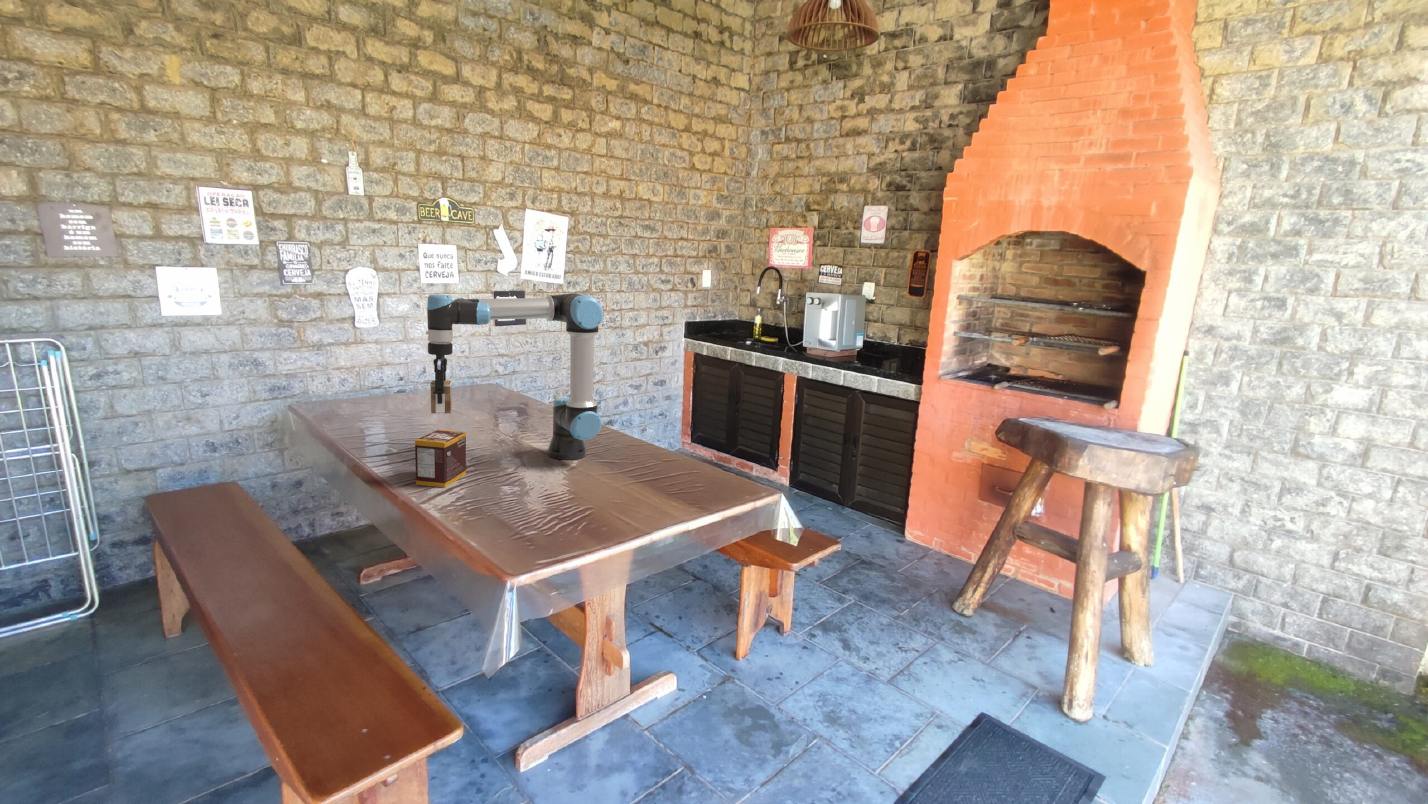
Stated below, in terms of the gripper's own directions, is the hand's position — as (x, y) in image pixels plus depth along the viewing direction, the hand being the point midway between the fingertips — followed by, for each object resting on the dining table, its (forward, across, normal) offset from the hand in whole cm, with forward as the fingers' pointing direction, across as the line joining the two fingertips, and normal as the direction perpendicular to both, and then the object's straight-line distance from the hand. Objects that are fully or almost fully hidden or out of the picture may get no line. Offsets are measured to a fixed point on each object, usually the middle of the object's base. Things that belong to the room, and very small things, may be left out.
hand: (440, 410), depth 220 cm
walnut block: (0, 0, 0) cm, 0 cm away
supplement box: (+25, 0, 0) cm, 25 cm away
